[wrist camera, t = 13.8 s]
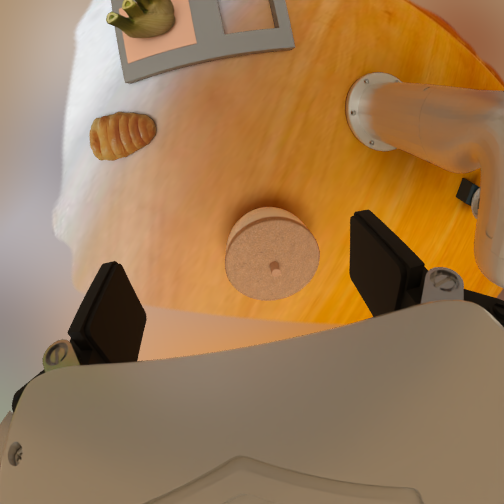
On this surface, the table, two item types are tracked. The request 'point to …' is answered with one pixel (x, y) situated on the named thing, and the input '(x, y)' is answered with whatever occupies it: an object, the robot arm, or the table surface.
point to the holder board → (197, 39)
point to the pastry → (120, 135)
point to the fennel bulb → (144, 18)
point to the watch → (469, 195)
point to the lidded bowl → (270, 254)
